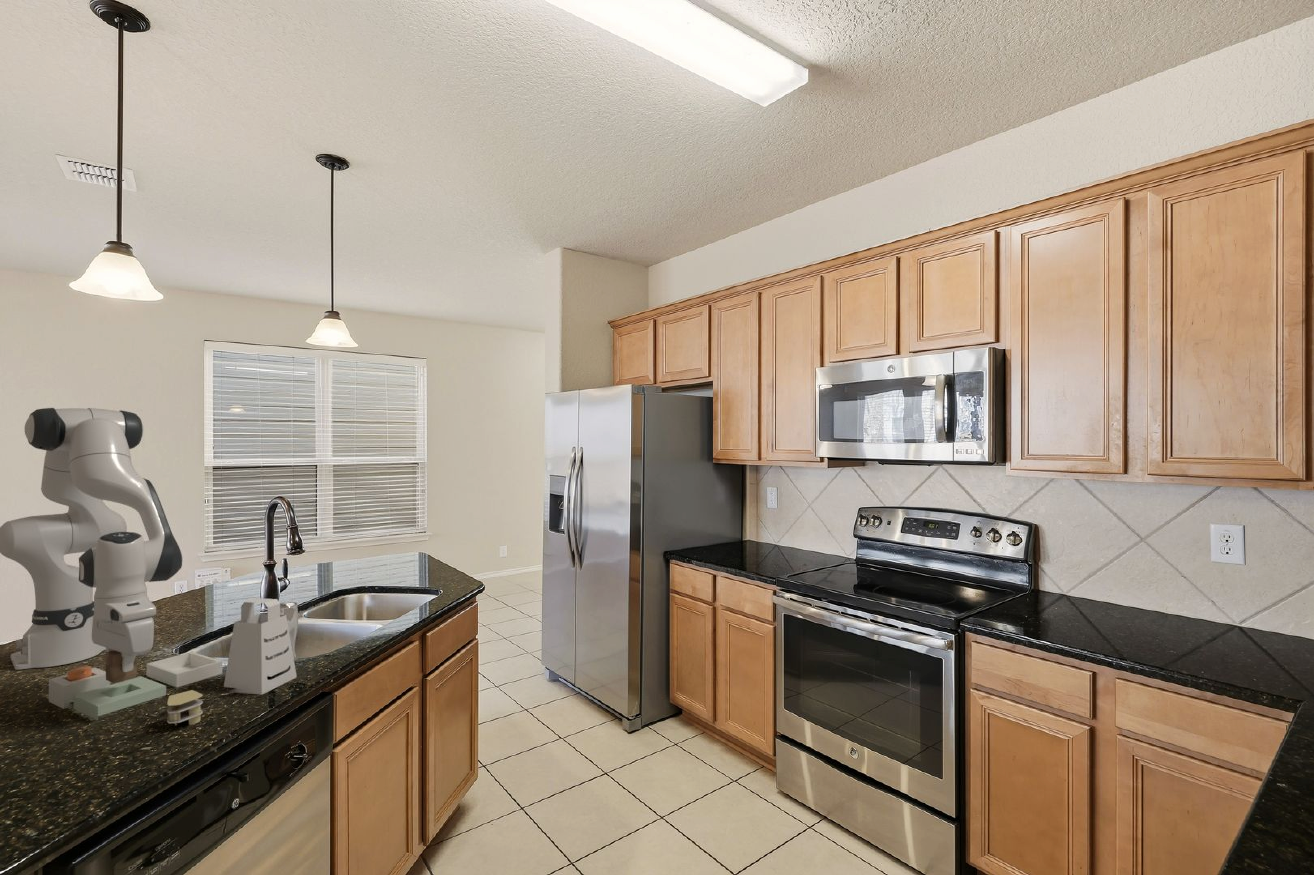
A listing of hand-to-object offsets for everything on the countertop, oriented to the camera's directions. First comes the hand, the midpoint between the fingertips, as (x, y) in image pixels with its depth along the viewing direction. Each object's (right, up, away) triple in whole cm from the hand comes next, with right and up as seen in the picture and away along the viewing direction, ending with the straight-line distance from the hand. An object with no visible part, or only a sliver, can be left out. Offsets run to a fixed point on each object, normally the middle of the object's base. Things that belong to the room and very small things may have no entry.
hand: (121, 668), depth 135 cm
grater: (+24, -8, +11) cm, 28 cm away
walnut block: (0, -2, 0) cm, 2 cm away
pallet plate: (0, -8, 0) cm, 8 cm away
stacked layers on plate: (+21, -8, -9) cm, 24 cm away
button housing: (-12, -8, +3) cm, 15 cm away
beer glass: (+20, -8, +25) cm, 33 cm away
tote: (+3, -8, +14) cm, 17 cm away
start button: (-12, -4, +3) cm, 13 cm away
